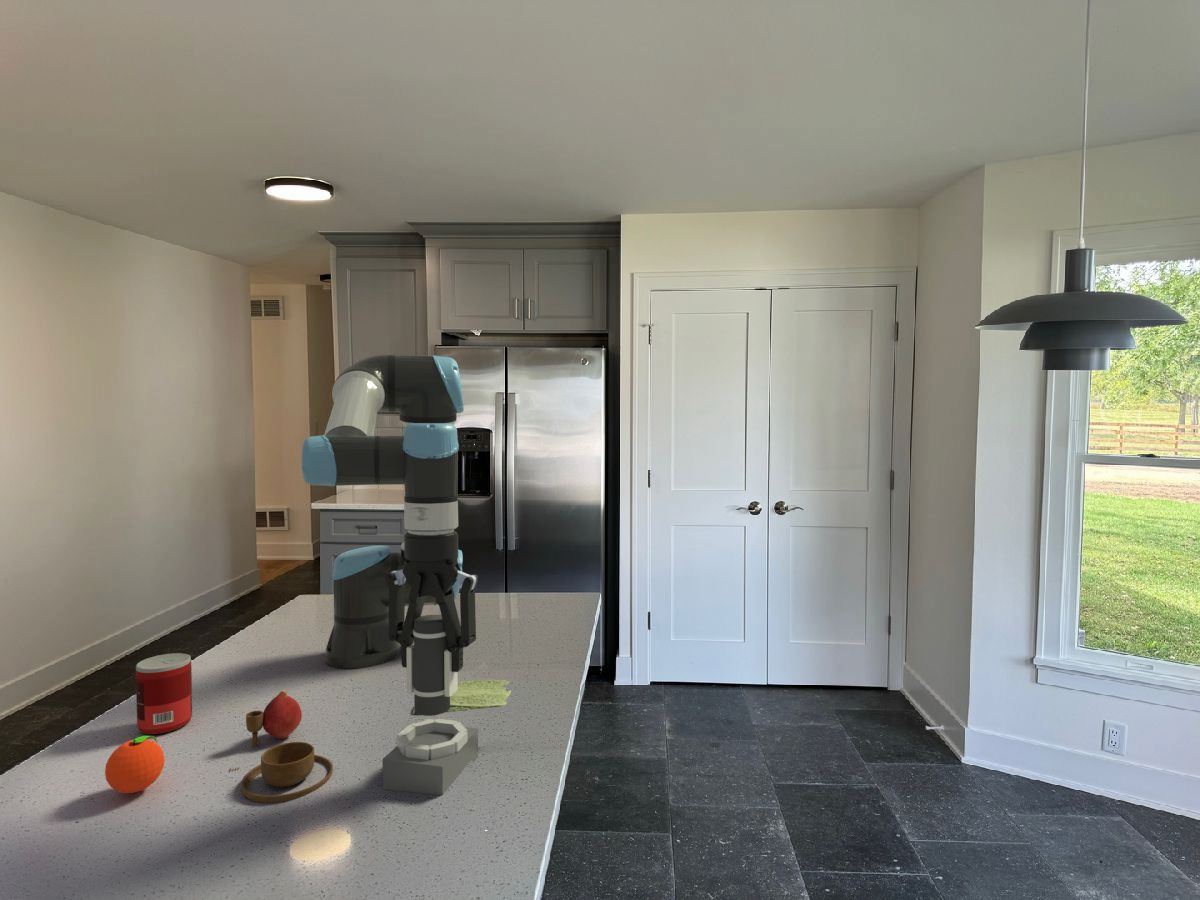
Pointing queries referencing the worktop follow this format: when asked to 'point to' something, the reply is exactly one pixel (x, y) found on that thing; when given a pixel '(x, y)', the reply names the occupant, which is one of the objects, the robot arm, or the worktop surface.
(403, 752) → the block with octagonal ring
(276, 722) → the onion
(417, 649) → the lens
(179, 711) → the canned food
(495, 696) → the washcloth
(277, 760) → the place setting
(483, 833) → the worktop surface
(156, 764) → the clementine
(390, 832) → the worktop surface
